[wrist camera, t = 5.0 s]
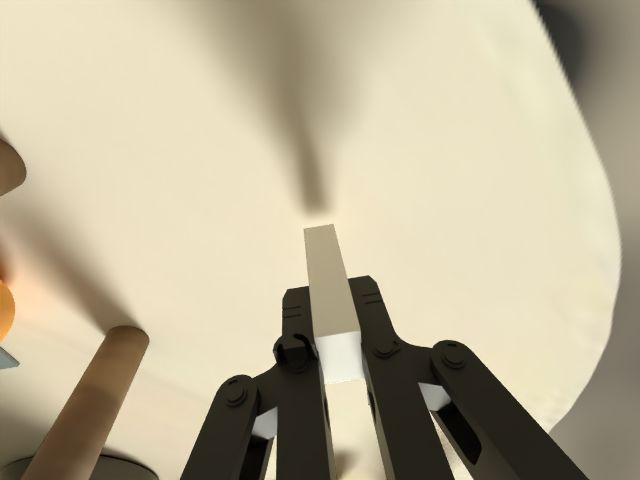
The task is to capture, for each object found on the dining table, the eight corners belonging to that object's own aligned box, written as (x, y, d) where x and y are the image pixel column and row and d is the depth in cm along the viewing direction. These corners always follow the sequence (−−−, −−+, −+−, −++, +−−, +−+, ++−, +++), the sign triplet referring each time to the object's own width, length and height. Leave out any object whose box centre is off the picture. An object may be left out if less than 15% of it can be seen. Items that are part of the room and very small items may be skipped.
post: (119, 353, 21) (31, 522, 14) (99, 329, 20) (-12, 504, 12) (155, 347, 21) (87, 513, 14) (138, 323, 20) (51, 494, 12)
